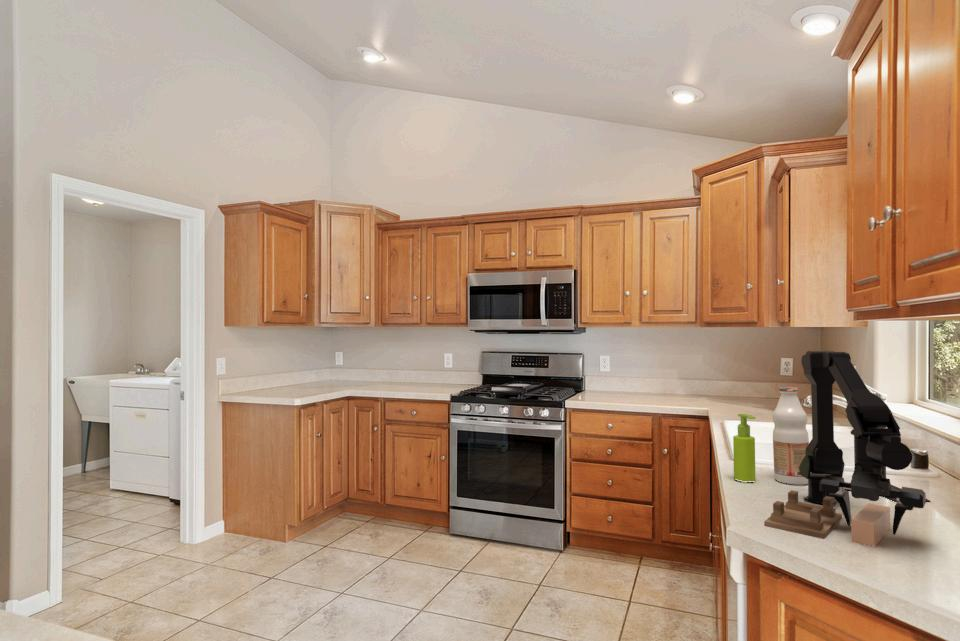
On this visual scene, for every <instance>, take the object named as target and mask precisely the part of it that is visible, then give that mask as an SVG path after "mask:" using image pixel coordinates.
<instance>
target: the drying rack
mask: <svg viewBox="0 0 960 641" xmlns="http://www.w3.org/2000/svg"><path fill="white" fill-rule="evenodd" d="M772 510H773V512H772V513H771V514H770V516H769V517H768V518H767V519H765V520H764V521H763V523H764V524H763V525H764V526H765V527H769V528H774V529H779V530H783V531H788V532H791V533H797V534H801V535H805V536H810V537H815V538H819V539H826V537H827V536H828V535H829V534H830V533H831V532H832V531H833V529H834V528H835V527H837V525H838V524H839V523H840V521H842V519H843V513H838V512H836V511H837V510H836V508H835V507H834V505H833V497H828V496H826V497H824V498H823V504H822V505H820V504H816V503H815V504H814V503H808V502H803V501H799V491H798V490H790V491H788V492H787V501H786V502H784V501H780V500H776V501H775V502H774V503H773V504H772Z"/></svg>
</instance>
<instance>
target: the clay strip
mask: <svg viewBox="0 0 960 641" xmlns="http://www.w3.org/2000/svg"><path fill="white" fill-rule="evenodd" d="M850 527H851V528H850V530H851V542H852V543H855V544H859V545H863V544H865V545H864V546H868V545H870V546H869V547H872V546H873V547H872V548H875V547H876V546H877V545H878V543H879V542H880V541H881V539H883V538H884V536H885V535H886V534H887V533H888V532H889V530H891V507H890V506H886V505H880V504H876V503H875V504H874V503H869V502H868V503H867V505H865V506H864V507H863V508H862V509H861V510H860V511H858V512H857V513H856V514H855V515H854V516H853V517H851V525H850ZM887 531H888V532H887ZM874 546H875V547H874Z"/></svg>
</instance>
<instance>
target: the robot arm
mask: <svg viewBox="0 0 960 641" xmlns="http://www.w3.org/2000/svg"><path fill="white" fill-rule="evenodd" d="M800 359H801V360H800V361H801V367H802V368H803V369H802V370H803V375H804V377H805V378H806V379H807V380H808V382H809V383H810V391H811V397H810V398H811V428H812V429H811V430H812V431H811V432H812V433H811V434H812V435H811V436H812V438H811V440H809V444H808V446H807V447H806V453H805V457H804V458H803V460H802V462H801V464H800V466H799V471H800V475H801V476H803V477H805V478H806V479H808V484H807V485H808V486H807V490H808V491H807V493H808V494H807V496H805V497H804V498H803V500H804V501H805V502H811V503H815V504H819V505H820V504H822V505H823V498H824V497H826V496H828V497H833V506H834V505H835V504H836V503H838V505H839V507H840V509H841V511H842V515H843V516H844V520H845V521H846V524H847V526H848V527H851V519H852V512H851V501H850V493H851V496H852V497H853V498H854V499H863V500H869V501H871V502H877V501H879V499H880V498H881V497H882V498H884V497H887V498H893V499H897V501H898V502H895V505H894V515H893V523H892V535H893V536H895V535H896V534H897V531H898V529H899V527H900V524H901V522H902V519H903V517H904V515H905V513H906V511H913V510H914V509H924V508H925V506H926V504H927V503H926V499H927V496H926V492H925V491H924V490H923V489H922V488H921V489H919V488H914V487H907V486H902V487H901V490H900V491H898V490H892V489H891V485H892V483H891V479H890V478H887V468H888V469H891V470H894V471H901V470H902V471H903V470H904V469H907V468H908V467H909V466H910V465H911V463H912V461H913V453H912V451H911V449H910V448H909V447H908V445H906V444H905V443H903V442H902V437H901V436H902V434H901V432H900V429H901V428H900V426H899V424H898V422H897V421H896V419H895V417H894V415H893V412H892V410H891V409H890V407H889V405H888V404H886V402H885V401H884V399H882V398H881V397H880V396H878V395H876V394H875V393H873V392H871V390H869V388H868V387H867V385H866V384H865V383H864V382H865V381H864V380H863V378H861V375H860V374H859V372H858V371H857V369H856V368H855V366H854V365H853V363H852V360H851V355H850V354H849V353H848V352H845V351H835V350H808V351H806V352H805V354H803V355H802V356H801V358H800ZM835 382H836V384H837V386H838V388H839V390H840V391H841V393H842V395H843V397H844V399H845V401H846V407H845V410H844V412H845V413H846V414H845V415H846V418H847V420H848V422H849V424H850V426H851V427H852V429H851V431H850V434H851V435H852V436H853V446H854V448H853V451H854V452H853V453H854V457H853V459H854V467H853V468H854V469H853V470H854V471H853V472H852V473H853V474H852V476H851V480H850V482H846V481H845V479H844V476H843V475H844V471H845V462H844V452H843V450H842V448H839V446H838V445H837V444H836V442H835V434H834V429H835V428H834V395H833V391H834V390H833V385H834V384H835Z"/></svg>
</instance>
